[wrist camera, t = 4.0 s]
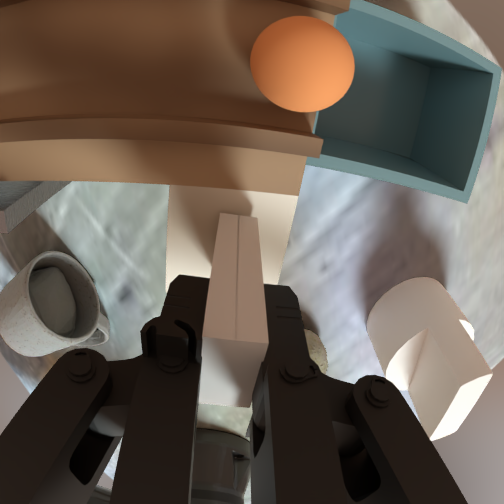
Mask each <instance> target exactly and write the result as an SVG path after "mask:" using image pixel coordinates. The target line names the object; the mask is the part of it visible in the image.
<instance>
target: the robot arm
mask: <svg viewBox="0 0 504 504" xmlns="http://www.w3.org/2000/svg"><path fill="white" fill-rule="evenodd" d="M140 332H141V343H142V352H143V354H142V355H140V356H138V357H135V358H133V359H127V360H118V361H106V359H105V357H104V356H103V355H101V354H100V353H99V352H97V351H95V350H91V349H88V348H80V349H74V350H71V351H69V352H66V353H65V354H64V355H63V356H62V357H60V358H59V359H58V361H57V362H56V363H55V364H54V366H53V367H52V368H51V369H50V370H49V372H48V373H47V374H46V375H45V377H44V378H43V379H42V381H41V382H40V383H39V384H38V386H37V387H36V388H35V389H34V391H33V392H32V393H31V395H30V396H29V397H28V399H27V400H26V401H25V403H24V404H23V405H22V406H21V408H20V409H19V410H18V412H17V413H16V414H15V416H14V417H13V419H12V420H11V421H10V423H9V424H8V425H7V427H6V428H5V430H4V431H3V432H2V434H1V435H0V504H244V494H245V491H246V488H247V486H248V483H249V480H250V477H251V504H468V503H467V501H466V500H465V498H464V496H463V494H462V493H461V491H460V489H459V487H458V486H457V484H456V482H455V480H454V479H453V477H452V475H451V474H450V472H449V470H448V469H447V467H446V465H445V463H444V462H443V460H442V459H441V457H440V456H439V453H438V452H437V450H436V449H435V447H434V445H433V444H432V442H431V440H430V439H429V437H428V435H427V434H426V432H425V431H424V429H423V427H422V426H421V424H420V423H419V421H418V419H417V418H416V416H415V415H414V413H413V411H412V410H411V408H410V407H409V405H408V404H407V402H406V400H405V399H404V397H403V396H402V394H401V393H400V391H399V390H398V388H397V387H396V386H395V385H394V384H393V383H392V382H391V381H389V380H387V379H386V378H384V377H381V376H377V375H366V376H364V377H362V378H360V379H358V381H357V382H356V383H355V384H351V383H347V382H344V381H340V380H337V379H334V378H331V377H329V376H327V375H325V374H324V373H322V372H321V370H320V368H319V366H318V365H317V364H316V363H315V362H314V361H313V360H312V359H311V358H310V355H309V350H308V346H307V341H306V336H305V331H304V326H303V321H302V317H301V312H300V307H299V302H298V298H297V296H296V295H295V293H294V292H293V291H292V290H291V288H290V287H289V286H282V285H273V284H264V283H263V272H262V261H261V250H260V239H259V228H258V218H257V217H249V216H242V215H234V214H226V213H220V217H219V223H218V229H217V235H216V242H215V248H214V255H213V262H212V268H211V275H210V278H205V277H197V276H189V275H181V274H179V275H178V276H177V277H176V278H175V279H174V280H173V281H172V282H171V283H170V285H169V288H168V292H167V296H166V298H165V302H164V306H163V308H162V312H161V315H160V316H159V317H155V318H153V319H151V320H150V321H148V322H147V323H145V325H144V326H143V328H142V330H141V331H140ZM251 402H252V410H253V414H252V417H251V420H250V423H249V426H248V429H247V432H246V437H250V443H249V442H248V441H246V440H245V439H243V438H241V437H238V436H235V435H232V434H229V433H225V432H220V431H214V430H206V429H196V424H197V412H198V403H203V404H212V405H222V406H234V407H248V408H250V405H251ZM122 437H123V438H122ZM121 438H122V443H121V447H120V452H119V457H118V461H117V466H116V471H115V476H114V482H113V487H112V490H111V489H108V488H104V487H102V486H99V485H97V483H98V481H99V479H100V477H101V475H102V474H103V472H104V470H105V468H106V466H107V464H108V462H109V461H110V459H111V457H112V455H113V453H114V451H115V449H116V448H117V446H118V444H119V442H120V440H121Z"/></svg>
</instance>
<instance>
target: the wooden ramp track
mask: <svg viewBox="0 0 504 504" xmlns="http://www.w3.org/2000/svg"><path fill="white" fill-rule="evenodd" d="M350 1H351V0H0V181H99V182H127V183H149V184H167V185H170V187H169V204H168V223H167V250H166V292H168V288H169V285H170V283H171V282H172V281H173V280H174V279H175V278H176V277H177V276H178V275H179V274H181V275H189V276H197V277H205V278H210V275H211V268H212V262H213V255H214V248H215V242H216V235H217V229H218V223H219V217H220V213H226V214H234V215H242V216H249V217H257V218H258V228H259V239H260V250H261V261H262V272H263V283H264V284H273V285H277V284H278V280H279V276H280V272H281V268H282V264H283V260H284V255H285V251H286V247H287V243H288V239H289V234H290V230H291V226H292V222H293V217H294V213H295V209H296V204H297V200H298V196H299V191H300V187H301V182H302V178H303V173H304V169H305V164H306V160H307V157H313V158H320V153H321V149H322V144H323V140H324V139H322V138H320V137H318V136H317V135H315V134H313V133H312V132H313V127H314V122H315V117H316V112H317V111H314V112H296V111H291V110H287V109H285V108H282V107H280V106H278V105H276V104H274V103H273V102H272V101H270V100H269V99H268V98H267V97H265V96H264V95H263V93H262V92H261V91H260V90H259V88H258V87H257V85H256V83H255V81H254V79H253V76H252V73H251V67H250V56H251V51H252V48H253V45H254V43H255V41H256V39H257V38H258V36H259V35H260V34H261V32H262V31H263V30H264V29H265V28H267V27H268V26H269V25H271V24H272V23H274V22H276V21H278V20H280V19H283V18H287V17H292V16H308V17H313V18H317V19H320V20H322V21H325V22H327V23H328V24H330V25H332V26H333V24H334V18H335V15H338V14H341V13H344V12H347V11H349V7H350Z"/></svg>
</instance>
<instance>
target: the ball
mask: <svg viewBox="0 0 504 504" xmlns="http://www.w3.org/2000/svg"><path fill="white" fill-rule="evenodd" d="M250 67H251V73H252V76H253V79H254V81H255V83H256V85H257V87H258V88H259V90H260V91H261V92H262V93H263V95H264V96H265V97H267V98H268V99H269V100H270V101H272V102H273V103H274V104H276V105H278V106H280V107H282V108H285V109H287V110H291V111H296V112H314V111H319V110H322V109H325V108H327V107H329V106H331V105H333V104H334V103H336V102H337V101H339V100H340V99H341V98H342V97H343V96H344V94H345V93H346V92H347V90H348V89H349V87H350V85H351V83H352V80H353V76H354V70H355V63H354V56H353V52H352V50H351V47H350V45H349V43H348V42H347V40H346V39H345V37H344V36H343V35H342V34H341V33H340V32H339V31H338V30H337V29H336V28H335V27H333V26H332V25H330V24H328V23H327V22H325V21H322V20H320V19H317V18H313V17H308V16H292V17H287V18H283V19H280V20H278V21H276V22H274V23H272V24H271V25H269V26H268V27H267V28H265V29H264V30H263V31H262V32H261V34H260V35H259V36H258V38H257V39H256V41H255V43H254V45H253V48H252V51H251V56H250Z"/></svg>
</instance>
